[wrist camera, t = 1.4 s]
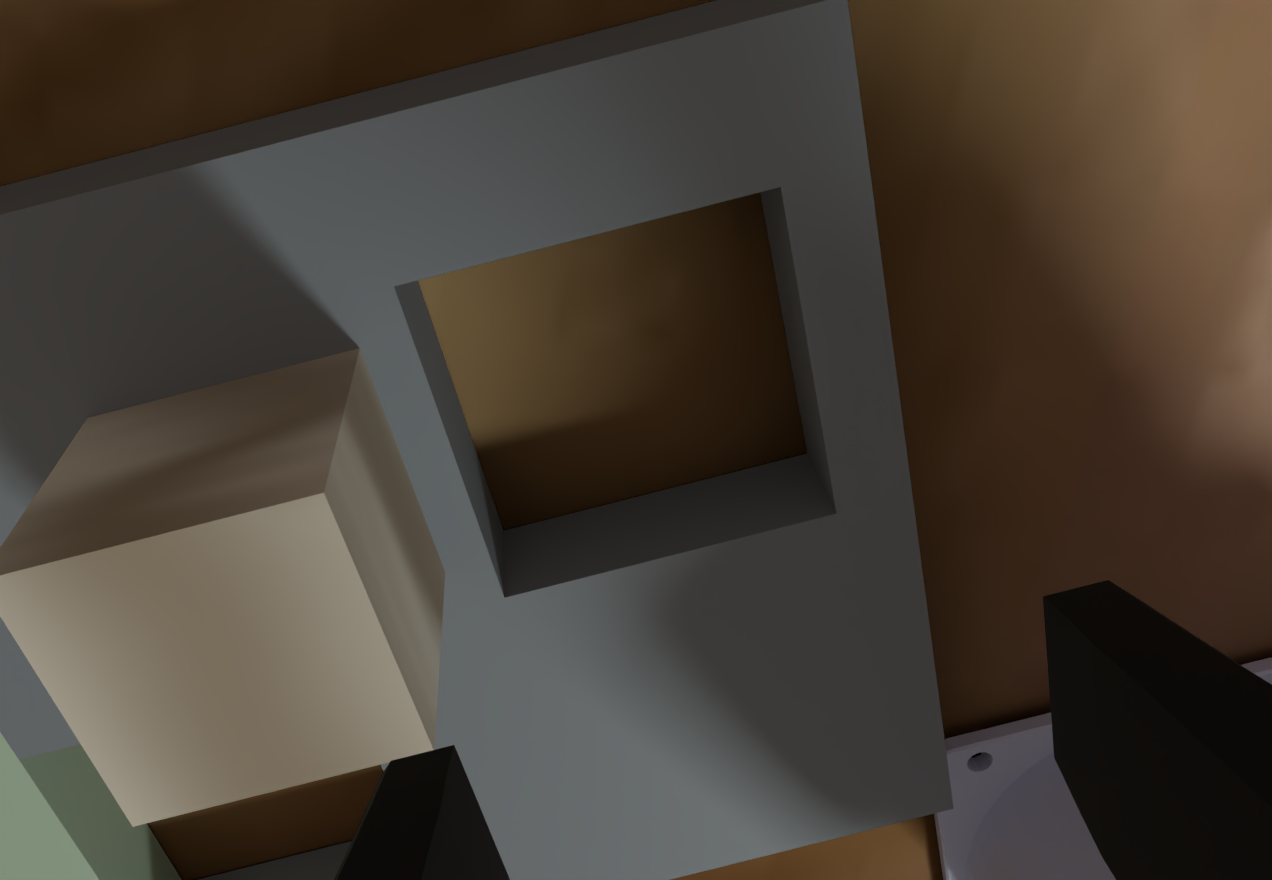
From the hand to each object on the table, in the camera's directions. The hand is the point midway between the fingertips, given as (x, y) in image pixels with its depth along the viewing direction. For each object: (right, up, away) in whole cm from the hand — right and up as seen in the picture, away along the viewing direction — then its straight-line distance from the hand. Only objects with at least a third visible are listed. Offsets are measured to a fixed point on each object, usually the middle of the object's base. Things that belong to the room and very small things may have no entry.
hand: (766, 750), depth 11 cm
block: (-7, +2, +7) cm, 10 cm away
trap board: (-7, +1, +9) cm, 12 cm away
